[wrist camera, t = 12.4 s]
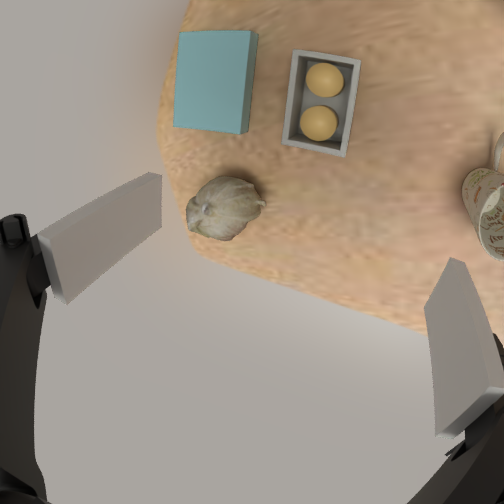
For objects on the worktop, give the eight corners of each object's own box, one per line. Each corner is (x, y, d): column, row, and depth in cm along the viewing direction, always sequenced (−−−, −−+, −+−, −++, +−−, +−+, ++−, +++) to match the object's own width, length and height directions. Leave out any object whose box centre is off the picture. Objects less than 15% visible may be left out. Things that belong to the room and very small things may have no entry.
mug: (447, 217, 32) (469, 257, 24) (460, 117, 26) (493, 127, 18) (500, 226, 30) (530, 266, 22) (516, 132, 24) (558, 148, 16)
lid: (190, 34, 32) (179, 32, 29) (258, 34, 29) (250, 30, 27) (184, 124, 38) (173, 126, 36) (248, 131, 36) (240, 134, 34)
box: (303, 56, 29) (293, 48, 24) (360, 66, 28) (361, 60, 23) (293, 136, 35) (281, 144, 30) (347, 147, 33) (344, 157, 28)
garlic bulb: (221, 207, 45) (170, 239, 39) (222, 154, 40) (163, 181, 34) (274, 233, 41) (224, 274, 35) (281, 177, 36) (224, 212, 30)
